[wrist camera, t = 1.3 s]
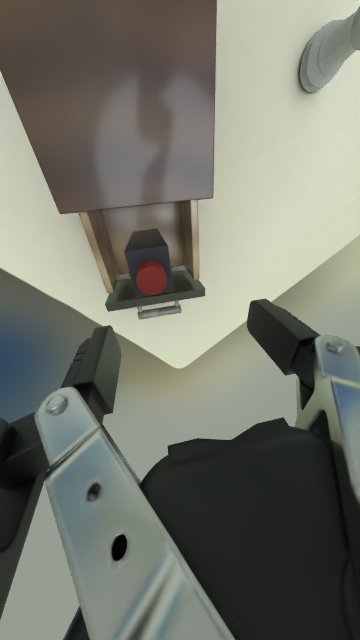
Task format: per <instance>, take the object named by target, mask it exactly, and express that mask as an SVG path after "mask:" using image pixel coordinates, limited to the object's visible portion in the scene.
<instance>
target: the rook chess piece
mask: <svg viewBox="0 0 360 640" xmlns="http://www.w3.org/2000/svg"><path fill="white" fill-rule="evenodd" d="M356 50H360V7H359V8H358V10H357V11H356V12H355V13H354V14H352V15H351V16H350V17H348V18H347V19H345V20H333V21H331V22H329V23H328V24H327V25H325V26H324V27H322V29H321V30H319V31H318V32H317V33H315V35H314V36H313V37H312V39H311V40H310V42H309V43H308V45H307V47H306V50H305V52H304V55H303V58H302V63H301V69H300V79H301V82H302V85H303V87H304V88H305V89H306V90H307V91H308V92H316V91H318V90H319V89H321V88H322V87H323V86H324V85H325V84H327V83H328V82H330V80H331V79H332V78H333V77H334V76H335V74H336V73H337V72H338V70H339V68H340V67H341V66H342V64H343V63H344V61H345V60H346V59H347V58H348V57H349V56H350V55H352V54H353V53H354V52H355V51H356Z"/></svg>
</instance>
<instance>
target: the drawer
mask: <svg viewBox="0 0 360 640" xmlns="http://www.w3.org/2000/svg"><path fill="white" fill-rule="evenodd" d="M78 213H79V215H80V218H81V221H82V224H83V227H84V229H85V232H86V235H87V238H88V240H89V243H90V246H91V249H92V252H93V254H94V257H95V260H96V263H97V265H98V268H99V271H100V274H101V277H102V279H103V282H104V285H105V288H106V290H107V293H109V296H108V298H107V301H106V303H105V305H106V308H107V310H108V312H109V311H115V310H121V309H127V308H134V307H138V317H139V319H146V318H152V317H158V316H164V315H170V314H176V313H181V307H180V304H179V300H183V299H189V298H196V297H202V296H205V288H204V286H203V285H202V284H201V282H200V281H199V280H198V279H199V238H198V200H190V201H181V202H171V203H162V204H152V205H143V206H133V207H124V208H114V209H105V210H95V211H86V212H78ZM150 229H158V230H159V232H160V233H161V235H162V237H163V238H164V240H165V242H166V243H167V245H168V249H169V257H170V266H171V267H174V266H181V265H184V266H185V268H186V269H187V271H180V272H173V273H171V274H172V283H173V292H169V293H162V294H157V295H149V296H143V297H136V295H135V291H134V287H133V283H132V280H131V279H125V280H118V278H119V275H120V274H124V273H130V272H129V268H128V264H127V260H126V256H125V253H124V251H125V249H126V246H127V244H128V242H129V239H130V237H131V235H132V232H133V231H141V230H150ZM171 301H175V305H173V306H167V307H161V308H154V309H148V310H142V306H146V305H152V304H158V303H165V302H171Z"/></svg>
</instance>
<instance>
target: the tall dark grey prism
mask: <svg viewBox="0 0 360 640" xmlns="http://www.w3.org/2000/svg"><path fill="white" fill-rule="evenodd" d="M124 253H125V256H126V260H127V264H128V268H129V272H130V276H131V280H132V283H133V287H134V291H135V295H136V297H143V296H149V295H157V294H162V293H169V292H173V283H172V274H171V266H170V257H169V249H168V245H167V243H166V242H165V240H164V238H163V237H162V235H161V233H160V232H159V230H158V229H150V230H141V231H133V232H132V235H131V237H130V239H129V242H128V244H127V246H126V249H125V251H124Z"/></svg>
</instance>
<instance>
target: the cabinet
mask: <svg viewBox="0 0 360 640" xmlns="http://www.w3.org/2000/svg"><path fill="white" fill-rule="evenodd" d="M216 12H217V0H0V71H1V73H2V75H3V78H4V80H5V83H6V85H7V87H8V90H9V92H10V95H11V97H12V100H13V102H14V104H15V107H16V109H17V112H18V114H19V116H20V119H21V121H22V124H23V126H24V129H25V131H26V133H27V136H28V138H29V141H30V143H31V145H32V148H33V150H34V153H35V155H36V158H37V160H38V162H39V165H40V167H41V170H42V172H43V174H44V177H45V179H46V182H47V184H48V186H49V189H50V191H51V194H52V196H53V199H54V201H55V203H56V206H57V208H58V211H59V213H60V214H67V213H77V212H86V211H95V210H105V209H114V208H124V207H133V206H143V205H152V204H162V203H171V202H181V201H190V200H200V199H209V198H213V173H214V119H215V66H216Z"/></svg>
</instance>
